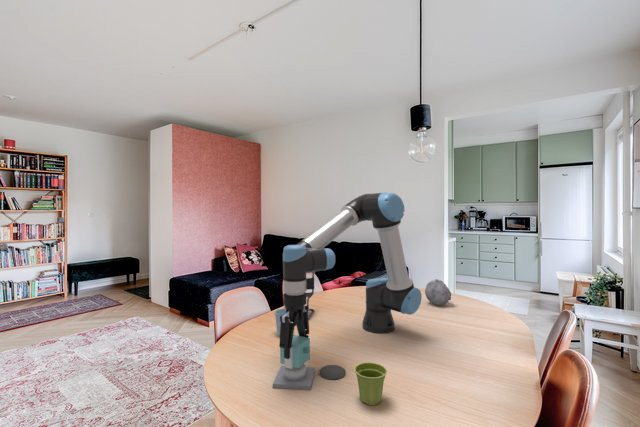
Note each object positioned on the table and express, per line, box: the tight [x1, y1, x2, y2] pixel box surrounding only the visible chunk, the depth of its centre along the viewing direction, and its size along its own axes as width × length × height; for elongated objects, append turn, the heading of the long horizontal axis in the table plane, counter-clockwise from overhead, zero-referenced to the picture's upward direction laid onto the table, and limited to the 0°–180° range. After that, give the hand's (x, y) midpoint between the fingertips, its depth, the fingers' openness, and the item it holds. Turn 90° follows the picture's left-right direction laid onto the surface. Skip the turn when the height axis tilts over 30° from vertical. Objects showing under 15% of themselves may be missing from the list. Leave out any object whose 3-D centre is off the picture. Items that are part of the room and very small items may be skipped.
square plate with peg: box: [272, 363, 316, 391], centre depth 104 cm, size 12×12×9 cm
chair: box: [284, 271, 316, 320], centre depth 170 cm, size 13×17×22 cm
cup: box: [274, 308, 292, 337], centre depth 142 cm, size 8×8×10 cm
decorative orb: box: [424, 278, 452, 306], centre depth 187 cm, size 15×14×15 cm
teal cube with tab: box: [279, 334, 311, 368], centre depth 103 cm, size 9×7×7 cm
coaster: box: [318, 364, 347, 381], centre depth 107 cm, size 9×9×1 cm
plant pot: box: [353, 361, 388, 406], centre depth 92 cm, size 9×9×9 cm
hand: (295, 362), depth 104 cm, fingers closed on teal cube with tab, 7 cm apart
